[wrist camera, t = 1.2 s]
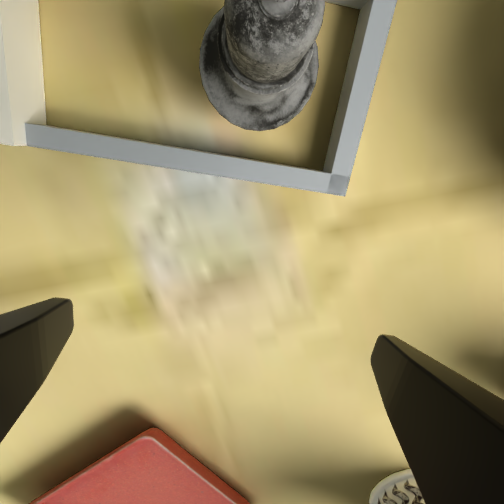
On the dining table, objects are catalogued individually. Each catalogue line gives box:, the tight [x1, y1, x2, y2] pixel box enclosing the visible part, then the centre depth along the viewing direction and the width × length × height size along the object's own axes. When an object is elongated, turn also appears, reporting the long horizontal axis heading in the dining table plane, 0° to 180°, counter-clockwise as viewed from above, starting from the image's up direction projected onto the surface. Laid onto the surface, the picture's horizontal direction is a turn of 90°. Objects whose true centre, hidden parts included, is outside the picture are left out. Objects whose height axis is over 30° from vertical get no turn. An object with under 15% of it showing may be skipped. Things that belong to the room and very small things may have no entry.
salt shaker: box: [199, 0, 325, 131], centre depth 12 cm, size 6×6×12 cm
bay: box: [0, 0, 397, 196], centre depth 16 cm, size 20×11×3 cm, turn 81°
